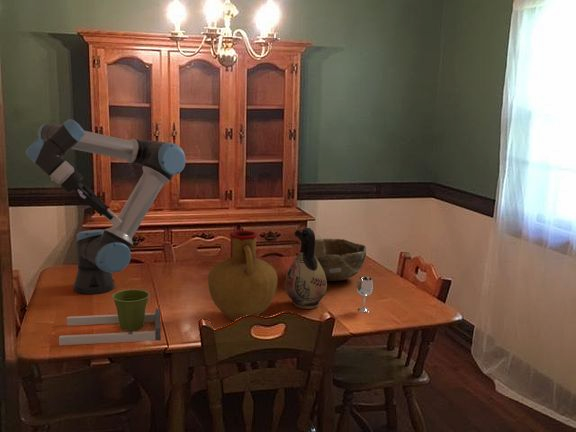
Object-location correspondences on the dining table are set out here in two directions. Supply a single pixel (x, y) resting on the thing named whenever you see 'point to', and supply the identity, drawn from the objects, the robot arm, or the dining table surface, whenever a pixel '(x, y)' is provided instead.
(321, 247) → the bowl
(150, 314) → the guide channel
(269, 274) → the vase
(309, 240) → the ceramic jug
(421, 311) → the dining table surface
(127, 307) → the plant pot
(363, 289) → the wineglass
